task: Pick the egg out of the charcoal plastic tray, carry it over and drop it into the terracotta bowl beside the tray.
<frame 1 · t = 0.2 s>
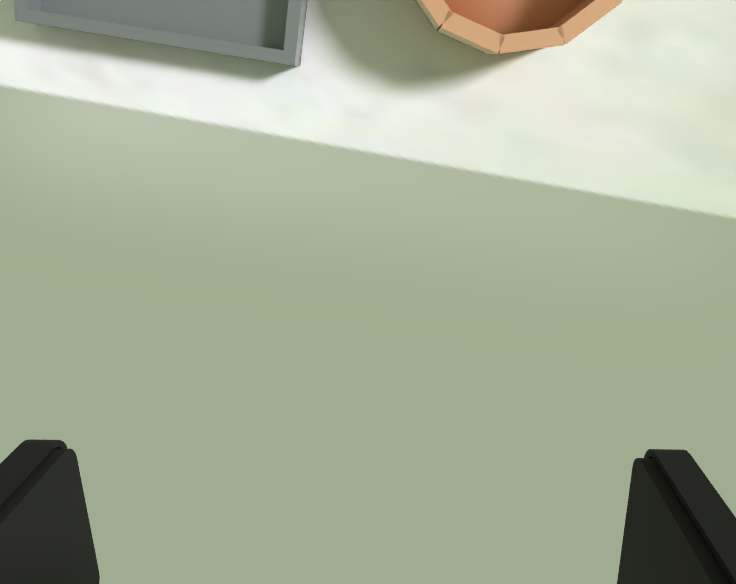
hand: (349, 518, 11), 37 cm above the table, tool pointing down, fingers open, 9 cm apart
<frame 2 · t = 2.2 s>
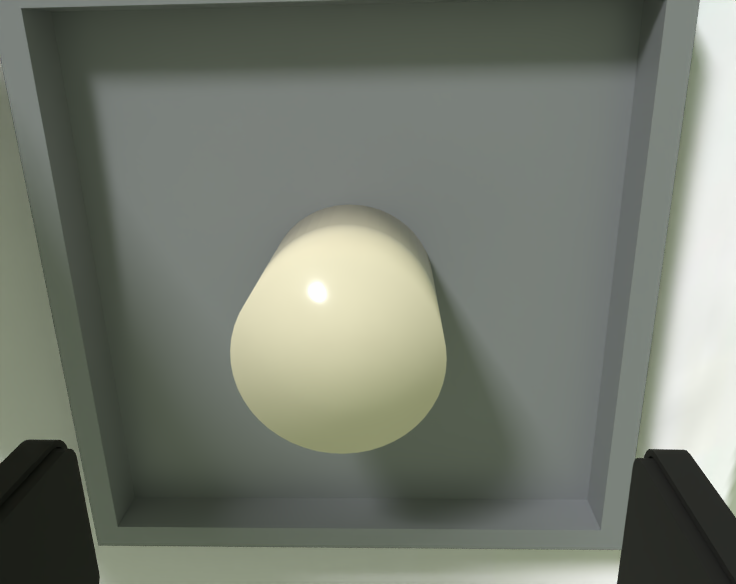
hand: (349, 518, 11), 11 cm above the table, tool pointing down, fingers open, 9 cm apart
tray: (352, 278, 21), on the table
egg: (351, 284, 21), point 1 cm above the table, touching tray
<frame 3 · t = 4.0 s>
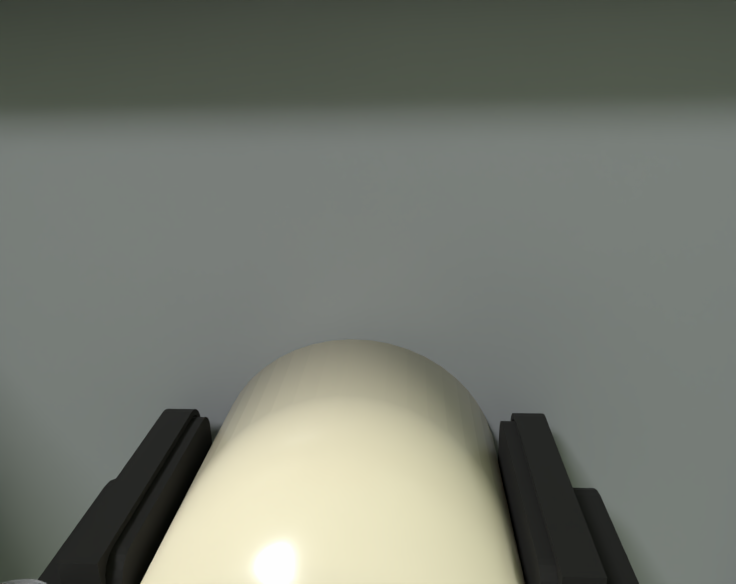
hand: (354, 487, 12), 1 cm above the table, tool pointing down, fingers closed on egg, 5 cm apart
tray: (359, 448, 13), on the table
egg: (356, 465, 12), point 1 cm above the table, touching gripper, tray
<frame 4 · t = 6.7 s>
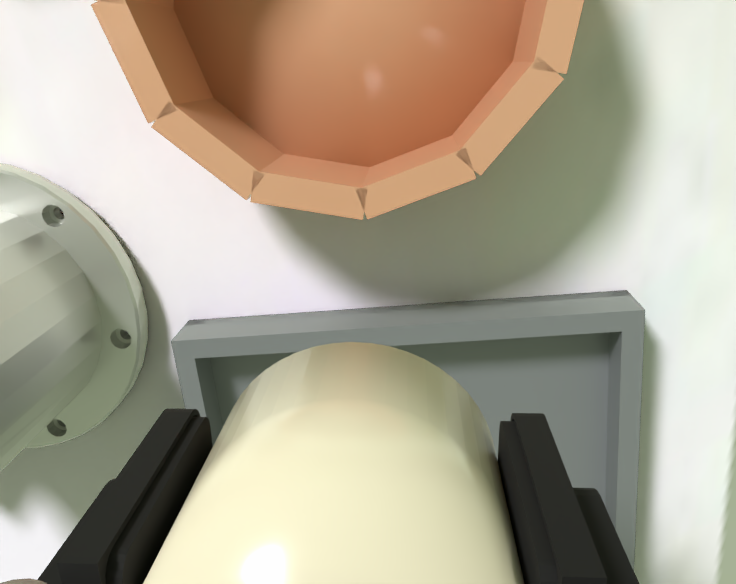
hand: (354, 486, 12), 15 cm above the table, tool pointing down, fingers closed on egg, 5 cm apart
tray: (417, 490, 30), on the table
egg: (357, 468, 12), point 15 cm above the table, touching gripper
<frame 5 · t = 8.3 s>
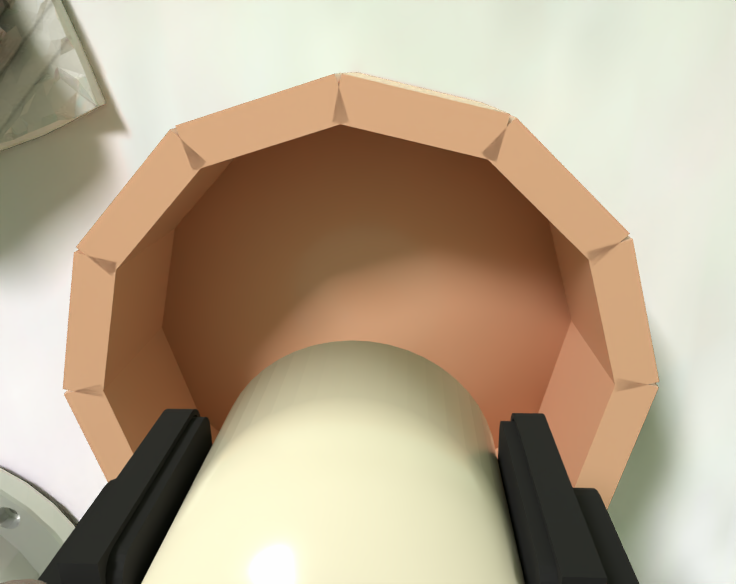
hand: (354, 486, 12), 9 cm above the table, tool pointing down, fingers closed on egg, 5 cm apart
egg: (356, 467, 12), point 9 cm above the table, touching gripper
bowl: (364, 314, 21), on the table
when the fingers open (7 cm above the table, at t = 9.4 s): egg drops 6 cm, resting on bowl.
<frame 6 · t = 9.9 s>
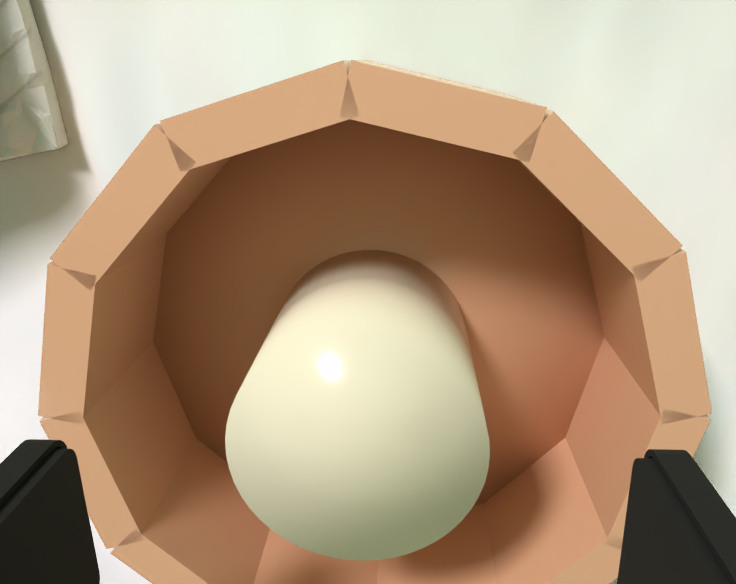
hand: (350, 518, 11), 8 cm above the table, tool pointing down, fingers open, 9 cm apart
egg: (371, 340, 18), point 1 cm above the table, touching bowl
bowl: (374, 328, 19), on the table
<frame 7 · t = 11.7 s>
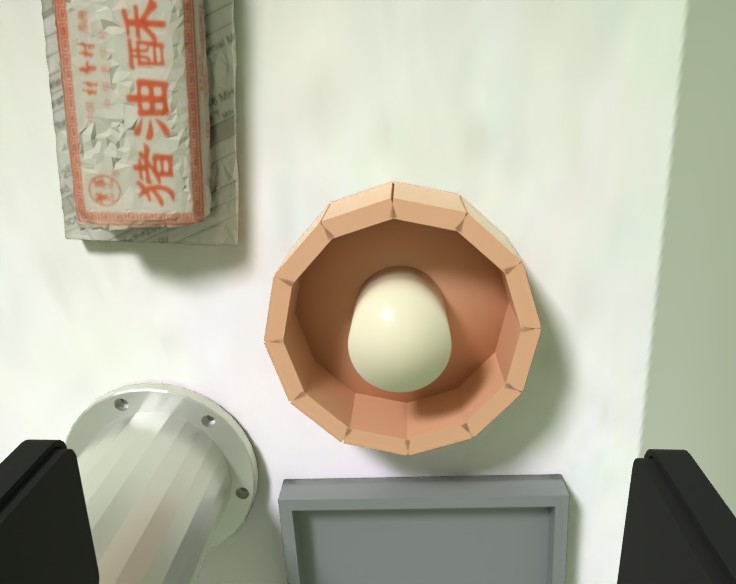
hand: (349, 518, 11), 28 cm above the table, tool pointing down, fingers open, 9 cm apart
egg: (400, 308, 38), point 1 cm above the table, touching bowl
packaged product: (151, 79, 36), on the table
bowl: (400, 303, 39), on the table
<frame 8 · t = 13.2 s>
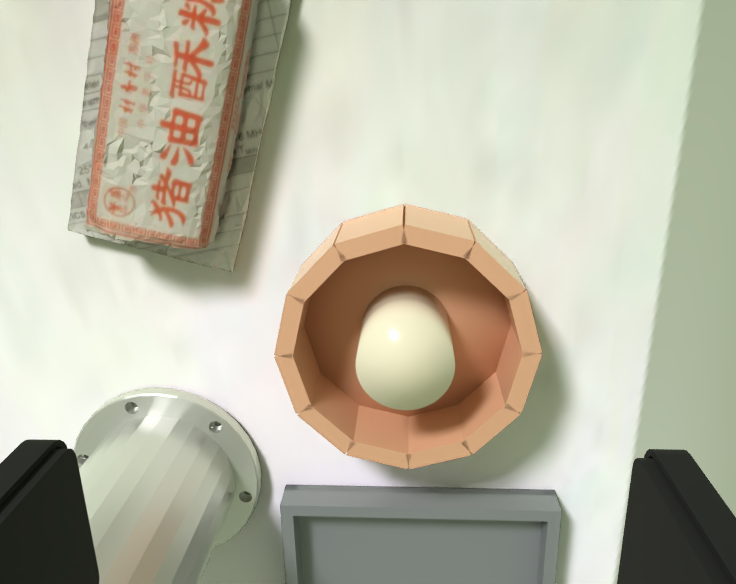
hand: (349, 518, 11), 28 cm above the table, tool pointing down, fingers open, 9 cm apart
egg: (405, 326, 39), point 1 cm above the table, touching bowl
packaged product: (184, 99, 37), on the table
bowl: (406, 320, 40), on the table
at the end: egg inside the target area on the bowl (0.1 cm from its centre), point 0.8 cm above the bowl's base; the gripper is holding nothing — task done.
